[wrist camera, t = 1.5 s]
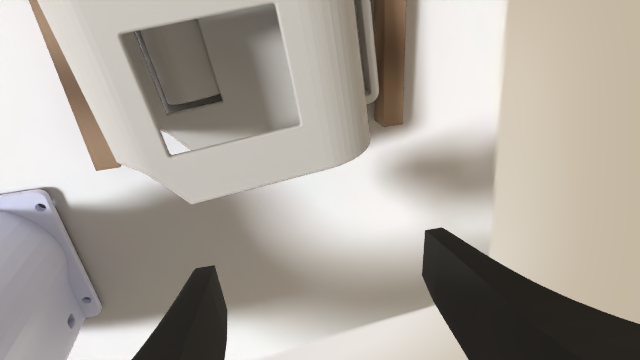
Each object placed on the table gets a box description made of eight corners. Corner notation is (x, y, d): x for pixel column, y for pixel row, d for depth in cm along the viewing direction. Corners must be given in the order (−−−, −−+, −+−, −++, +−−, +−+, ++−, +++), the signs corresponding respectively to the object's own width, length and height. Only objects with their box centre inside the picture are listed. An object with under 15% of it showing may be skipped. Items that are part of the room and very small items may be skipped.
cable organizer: (-43, -132, 10) (136, 220, 16) (379, -194, 11) (404, 150, 17) (58, -83, 16) (161, 161, 21) (329, -128, 17) (359, 112, 23)
